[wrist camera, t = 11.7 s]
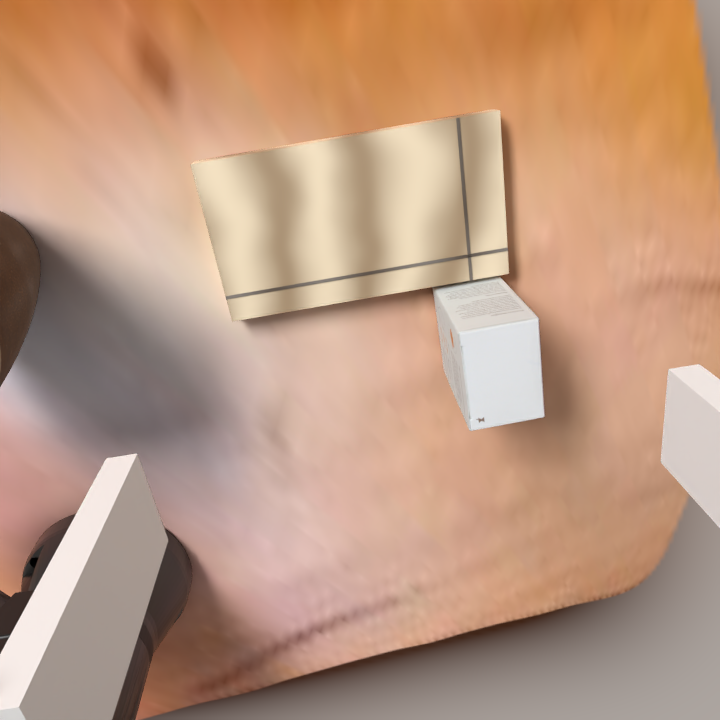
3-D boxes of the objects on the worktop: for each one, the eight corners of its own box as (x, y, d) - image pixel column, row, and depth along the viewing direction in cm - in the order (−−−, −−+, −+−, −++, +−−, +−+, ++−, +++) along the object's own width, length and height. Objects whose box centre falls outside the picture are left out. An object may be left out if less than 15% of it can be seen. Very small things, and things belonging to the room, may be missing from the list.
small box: (505, 358, 53) (547, 420, 44) (441, 370, 53) (469, 434, 44) (498, 270, 50) (542, 317, 40) (430, 283, 50) (458, 332, 40)
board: (235, 313, 50) (232, 321, 48) (194, 161, 45) (190, 164, 43) (502, 267, 50) (509, 274, 48) (493, 109, 45) (500, 110, 43)
